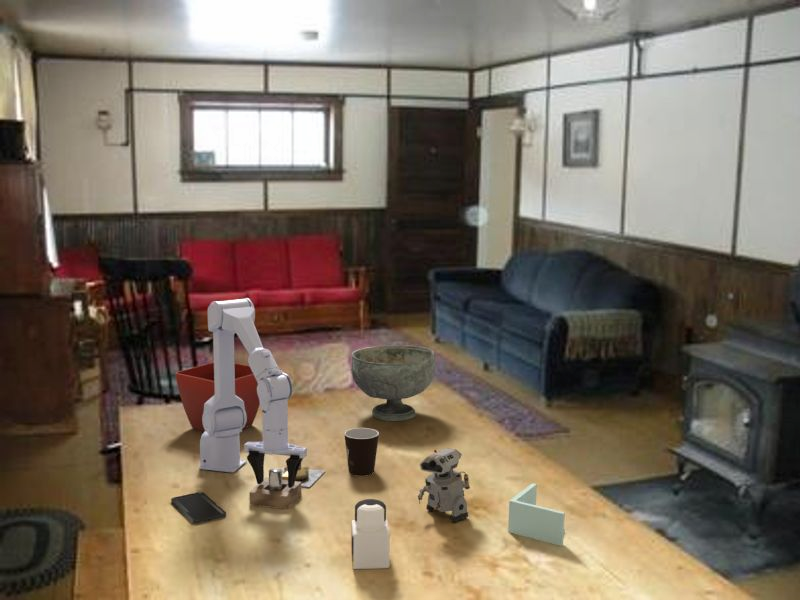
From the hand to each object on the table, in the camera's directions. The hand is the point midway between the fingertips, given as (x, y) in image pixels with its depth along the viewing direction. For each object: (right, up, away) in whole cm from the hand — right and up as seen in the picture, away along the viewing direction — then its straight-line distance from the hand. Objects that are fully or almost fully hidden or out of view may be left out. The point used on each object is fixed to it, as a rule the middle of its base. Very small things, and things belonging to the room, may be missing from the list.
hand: (275, 484), depth 197 cm
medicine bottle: (+23, -9, -29) cm, 38 cm away
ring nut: (+3, -1, +12) cm, 12 cm away
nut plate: (+3, -1, +14) cm, 14 cm away
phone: (-17, -5, -5) cm, 18 cm away
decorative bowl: (+26, +7, +66) cm, 72 cm away
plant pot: (-23, +5, +52) cm, 57 cm away
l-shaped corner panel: (+60, -7, -13) cm, 62 cm away
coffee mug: (+19, -1, +20) cm, 28 cm away
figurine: (+37, -6, -8) cm, 39 cm away
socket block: (0, -4, +1) cm, 4 cm away
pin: (0, -4, +1) cm, 4 cm away
